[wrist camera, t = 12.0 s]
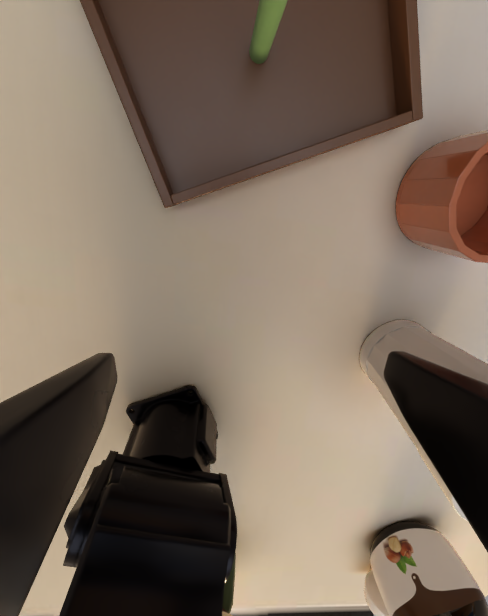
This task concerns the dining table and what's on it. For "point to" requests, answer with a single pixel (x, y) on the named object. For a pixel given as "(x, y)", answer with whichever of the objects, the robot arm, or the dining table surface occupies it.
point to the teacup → (448, 198)
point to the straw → (265, 28)
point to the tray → (255, 83)
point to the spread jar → (419, 575)
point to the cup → (426, 347)
